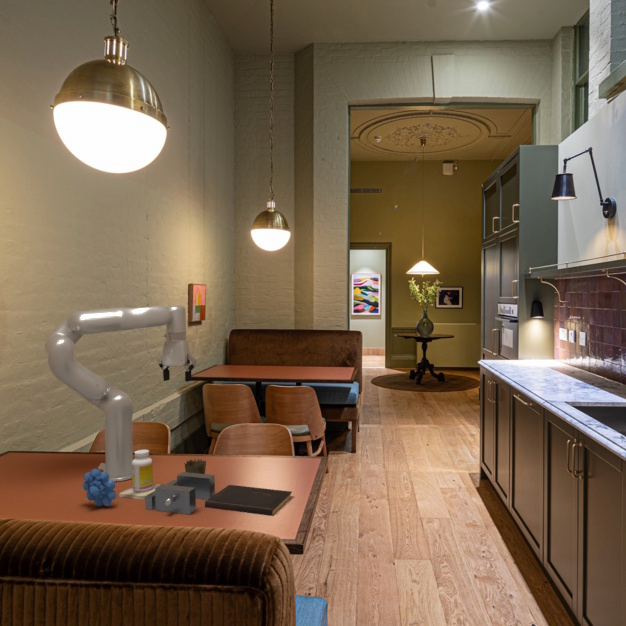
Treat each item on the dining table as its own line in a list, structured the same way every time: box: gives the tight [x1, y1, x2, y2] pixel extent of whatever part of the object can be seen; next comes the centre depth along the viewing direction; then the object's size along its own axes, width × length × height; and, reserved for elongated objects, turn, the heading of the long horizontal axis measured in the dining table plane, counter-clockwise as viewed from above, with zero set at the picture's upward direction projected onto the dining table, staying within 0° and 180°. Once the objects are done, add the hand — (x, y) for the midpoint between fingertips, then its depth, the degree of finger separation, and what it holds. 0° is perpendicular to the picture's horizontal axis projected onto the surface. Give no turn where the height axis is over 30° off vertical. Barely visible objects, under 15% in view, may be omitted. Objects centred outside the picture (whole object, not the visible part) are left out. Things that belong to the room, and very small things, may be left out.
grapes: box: [82, 468, 117, 508], centre depth 167 cm, size 12×7×12 cm, turn 78°
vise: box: [144, 471, 216, 515], centre depth 169 cm, size 16×19×7 cm
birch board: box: [118, 483, 160, 501], centre depth 180 cm, size 11×11×1 cm
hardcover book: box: [204, 484, 293, 517], centre depth 170 cm, size 16×23×2 cm
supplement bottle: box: [131, 449, 154, 492], centre depth 180 cm, size 7×7×13 cm
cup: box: [184, 458, 207, 474], centre depth 187 cm, size 8×7×8 cm
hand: (177, 380), depth 209 cm, fingers open, 9 cm apart
